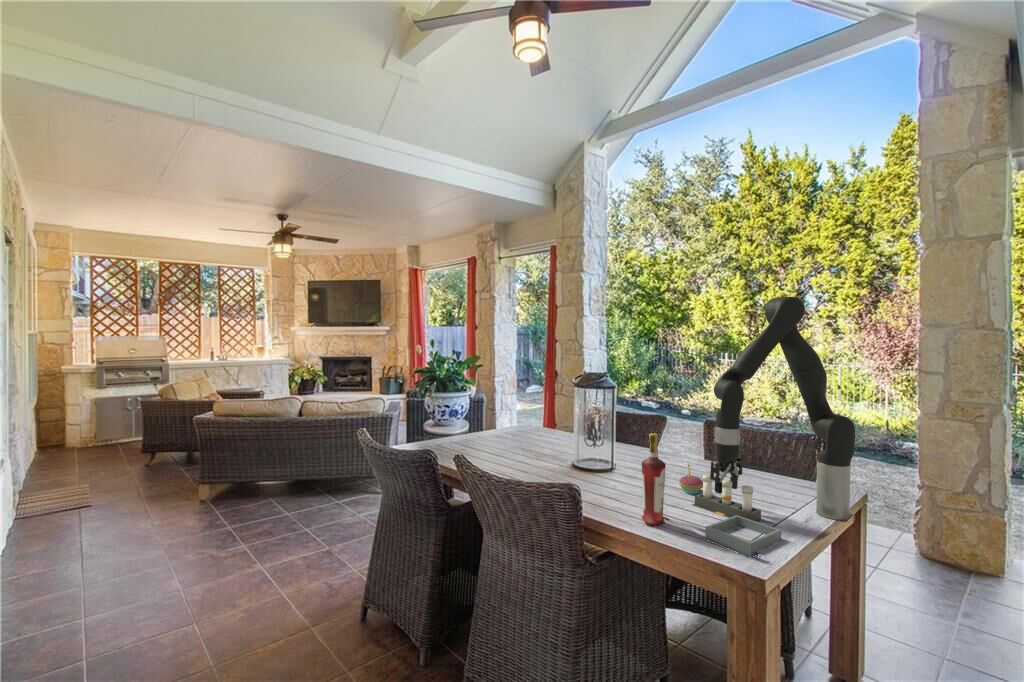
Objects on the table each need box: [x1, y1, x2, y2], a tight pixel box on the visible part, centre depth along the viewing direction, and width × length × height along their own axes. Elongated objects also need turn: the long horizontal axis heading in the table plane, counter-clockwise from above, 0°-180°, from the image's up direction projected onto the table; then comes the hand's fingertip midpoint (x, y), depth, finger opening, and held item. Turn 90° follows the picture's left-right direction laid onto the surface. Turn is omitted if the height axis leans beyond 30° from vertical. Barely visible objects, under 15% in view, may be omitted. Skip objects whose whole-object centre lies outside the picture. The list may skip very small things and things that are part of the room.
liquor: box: [641, 433, 667, 526], centre depth 156 cm, size 7×7×28 cm
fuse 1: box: [702, 474, 714, 500], centre depth 167 cm, size 3×3×10 cm
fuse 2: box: [741, 485, 754, 513], centre depth 155 cm, size 3×3×10 cm
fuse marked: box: [721, 479, 732, 506], centre depth 161 cm, size 3×3×10 cm
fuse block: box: [691, 492, 765, 523], centre depth 161 cm, size 8×21×4 cm, turn 34°
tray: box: [705, 515, 782, 558], centre depth 142 cm, size 16×14×4 cm
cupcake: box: [678, 462, 703, 495], centre depth 181 cm, size 9×8×12 cm
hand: (726, 490), depth 161 cm, fingers open, 8 cm apart
